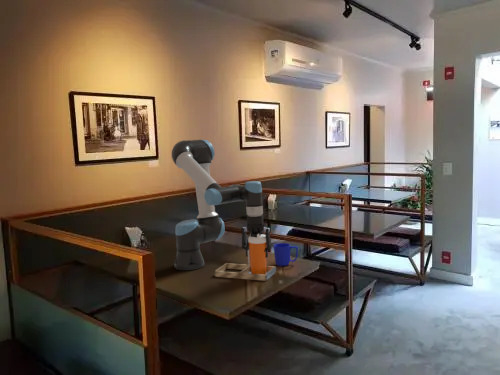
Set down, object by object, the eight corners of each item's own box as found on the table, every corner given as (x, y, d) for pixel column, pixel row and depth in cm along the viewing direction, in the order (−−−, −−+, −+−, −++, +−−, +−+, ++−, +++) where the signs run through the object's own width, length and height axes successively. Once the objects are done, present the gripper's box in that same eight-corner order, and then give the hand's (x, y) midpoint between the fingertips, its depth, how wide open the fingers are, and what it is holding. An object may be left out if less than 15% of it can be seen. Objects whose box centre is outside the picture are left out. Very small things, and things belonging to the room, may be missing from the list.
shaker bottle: (271, 272, 195) (270, 230, 193) (263, 278, 187) (262, 234, 185) (253, 270, 199) (252, 229, 196) (245, 275, 191) (244, 233, 188)
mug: (297, 267, 202) (296, 247, 201) (273, 267, 204) (272, 247, 203) (299, 262, 210) (298, 243, 209) (275, 262, 212) (274, 243, 211)
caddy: (214, 276, 194) (213, 271, 194) (226, 268, 207) (226, 263, 206) (266, 280, 184) (266, 275, 184) (276, 271, 197) (275, 266, 196)
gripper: (232, 216, 190) (234, 264, 193) (272, 216, 183) (274, 267, 185) (238, 213, 197) (241, 260, 200) (277, 213, 190) (279, 262, 192)
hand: (257, 263), depth 193 cm, fingers open, 6 cm apart
